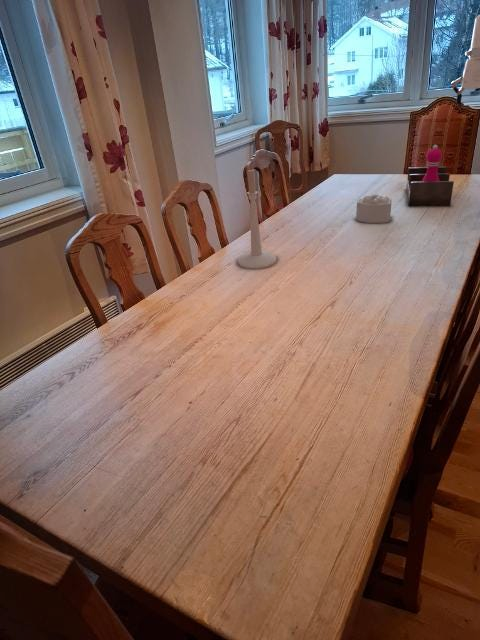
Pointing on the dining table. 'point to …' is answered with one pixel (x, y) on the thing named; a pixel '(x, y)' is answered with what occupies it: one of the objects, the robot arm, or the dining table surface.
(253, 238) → the candlestick
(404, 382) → the dining table surface
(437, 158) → the pepper mill
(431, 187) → the shelf
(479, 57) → the robot arm
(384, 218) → the lumpy-topped squat cylinder
